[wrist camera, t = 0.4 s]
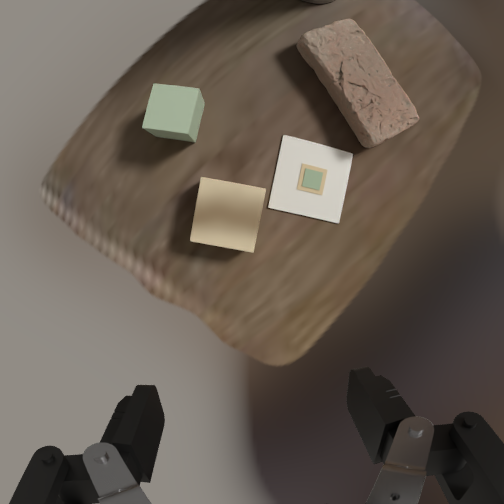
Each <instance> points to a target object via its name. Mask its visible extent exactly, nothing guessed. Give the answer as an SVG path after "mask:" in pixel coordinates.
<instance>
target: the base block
mask: <svg viewBox="0 0 504 504" xmlns="http://www.w3.org/2000/svg"><path fill="white" fill-rule="evenodd" d="M265 192H266V189H264V188H259V187H254V186H249V185H244V184H238V183H233V182H227V181H222V180H216V179H210V178H205V177H201V181H200V186H199V191H198V197H197V202H196V208H195V214H194V219H193V225H192V231H191V237H190V241H192V242H198V243H203V244H209V245H214V246H220V247H225V248H231V249H236V250H242V251H247V252H254V247H255V242H256V237H257V232H258V227H259V222H260V217H261V212H262V207H263V202H264V197H265Z"/></svg>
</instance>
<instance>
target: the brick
mask: <svg viewBox="0 0 504 504" xmlns="http://www.w3.org/2000/svg"><path fill="white" fill-rule="evenodd" d="M296 47H297V49H298V51H299V52H300V54H301V55H302V57H303V58H304V60H305V61H306V62H307V63H308V65H309V66H310V67H311V68H312V69H314V71H315V73H316V75H317V77H318V78H319V80H320V82H321V83H322V84H323V85H324V86H325V87H326V89H327V91H328V93H329V95H330V96H331V97H332V99H333V101H334V102H335V103H336V105H337V106H338V108H339V110H340V112H341V113H342V115H343V116H344V118H345V119H346V121H347V122H348V124H349V126H350V128H351V129H352V130H353V132H354V133H355V135H356V137H357V139H358V141H359V142H360V143H361V145H362V146H364V147H365V148H372V147H375V146H376V145H379V144H381V143H382V142H384V141H386V140H388V139H390V138H392V137H393V136H395V135H397V134H399V133H401V132H403V131H404V130H406V129H407V128H409V127H410V126H412V125H414V124H415V123H417V122H418V120H419V116H418V114H417V111H416V108H415V107H414V105H413V104H412V102H411V101H410V99H409V97H408V96H407V94H406V93H405V92H404V90H403V89H402V87H401V86H400V85H399V84H398V82H397V80H396V79H395V78H394V77H393V76H392V74H391V71H390V70H389V68H388V66H387V65H386V63H385V61H384V60H383V58H382V57H381V56H380V54H379V52H378V51H377V49H376V48H375V47H374V45H373V44H372V42H371V40H370V39H369V38H368V37H367V36H366V35H365V33H364V31H363V30H362V29H361V28H360V27H358V25H357V23H356V22H355V21H353V20H351V19H345V20H339V21H335V22H333V23H332V24H329V25H326V26H324V27H321V28H317V29H313V30H311V31H308V32H306V33H304V34H303V35H302V36H301V37H300V40H299V41H298V43H297V45H296Z"/></svg>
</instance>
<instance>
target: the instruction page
mask: <svg viewBox="0 0 504 504" xmlns="http://www.w3.org/2000/svg"><path fill="white" fill-rule="evenodd" d="M352 157H353V154H352V153H349V152H346V151H342V150H339V149H335V148H332V147H329V146H325V145H321V144H318V143H314V142H310V141H306V140H303V139H299V138H295V137H291V136H286V135H283V139H282V143H281V148H280V153H279V158H278V163H277V167H276V172H275V177H274V182H273V186H272V191H271V196H270V200H269V205H268V208H272V209H276V210H281V211H286V212H290V213H295V214H299V215H304V216H308V217H313V218H317V219H321V220H326V221H330V222H334V223H339V220H340V215H341V211H342V206H343V202H344V197H345V192H346V188H347V183H348V178H349V173H350V168H351V162H352Z"/></svg>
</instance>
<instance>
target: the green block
mask: <svg viewBox="0 0 504 504" xmlns="http://www.w3.org/2000/svg"><path fill="white" fill-rule="evenodd" d="M204 105H205V103H204V100H203V97H202V94H201V92H200V89H198V88H191V87H183V86H174V85H164V84H153V88H152V91H151V95H150V98H149V102H148V106H147V110H146V114H145V118H144V122H143V126H142V128H143V129H145V130H146V131H148V132H149V133H151V134H153V135H154V136H156V137H162V138H169V139H176V140H182V141H189V142H195V143H196V138H197V134H198V130H199V125H200V121H201V117H202V113H203V109H204Z"/></svg>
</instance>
